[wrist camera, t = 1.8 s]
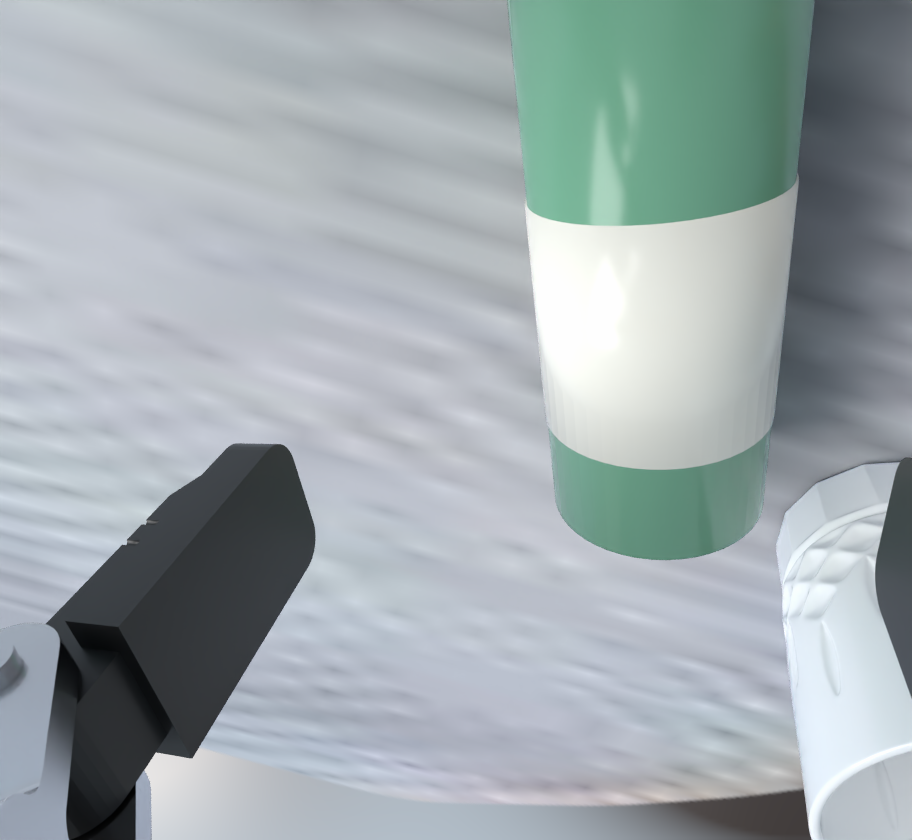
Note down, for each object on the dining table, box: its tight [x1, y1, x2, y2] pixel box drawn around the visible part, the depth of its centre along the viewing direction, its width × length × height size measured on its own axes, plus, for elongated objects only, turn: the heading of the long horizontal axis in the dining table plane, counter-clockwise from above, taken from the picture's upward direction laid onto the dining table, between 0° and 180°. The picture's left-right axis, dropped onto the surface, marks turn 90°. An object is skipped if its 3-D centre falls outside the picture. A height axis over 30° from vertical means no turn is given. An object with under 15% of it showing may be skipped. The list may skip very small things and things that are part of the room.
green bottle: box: [507, 0, 815, 560], centre depth 15 cm, size 20×6×6 cm, turn 9°
